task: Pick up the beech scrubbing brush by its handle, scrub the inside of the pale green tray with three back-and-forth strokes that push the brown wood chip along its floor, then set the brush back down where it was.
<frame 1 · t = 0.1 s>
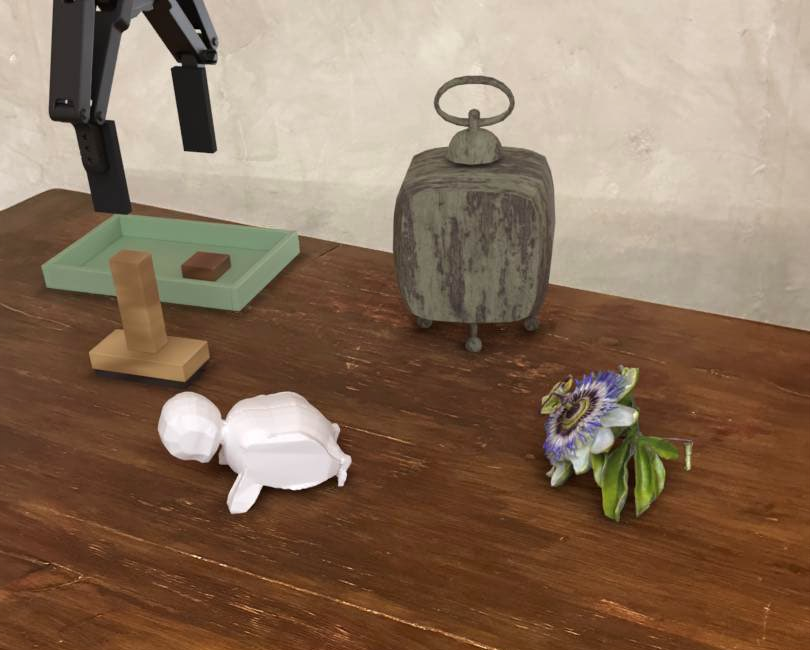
hand: (159, 180, 87), 22 cm above the table, tool pointing down, fingers open, 13 cm apart
wood chip: (207, 272, 125), point 1 cm above the table, touching tray
tray: (176, 275, 126), on the table
white turtle figurine: (261, 484, 93), on the table
tabletop clock: (475, 344, 110), on the table
passion flower: (606, 482, 91), on the table
brush: (153, 374, 108), on the table
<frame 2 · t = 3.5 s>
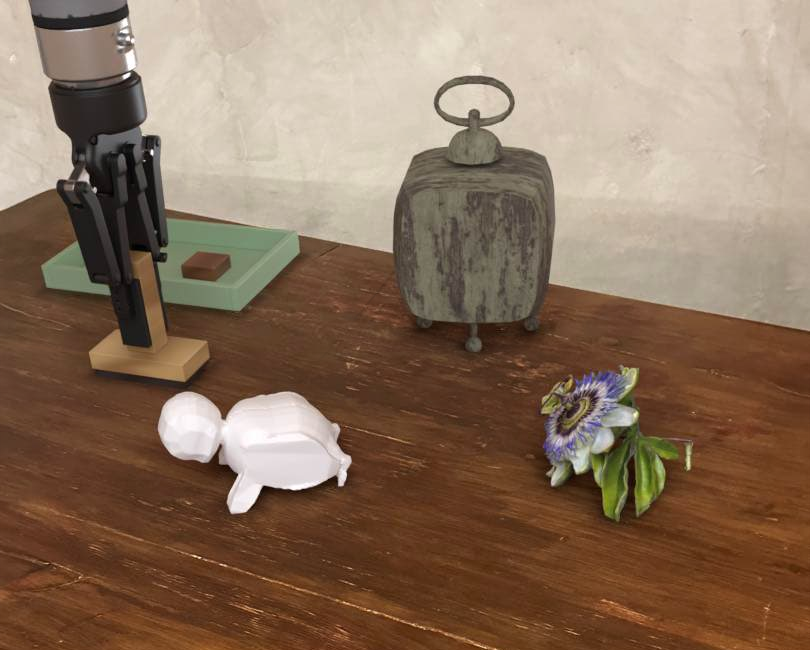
hand: (146, 336, 106), 4 cm above the table, tool pointing down, fingers closed on brush, 2 cm apart
brush: (153, 374, 108), on the table, touching gripper
everything else where it was.
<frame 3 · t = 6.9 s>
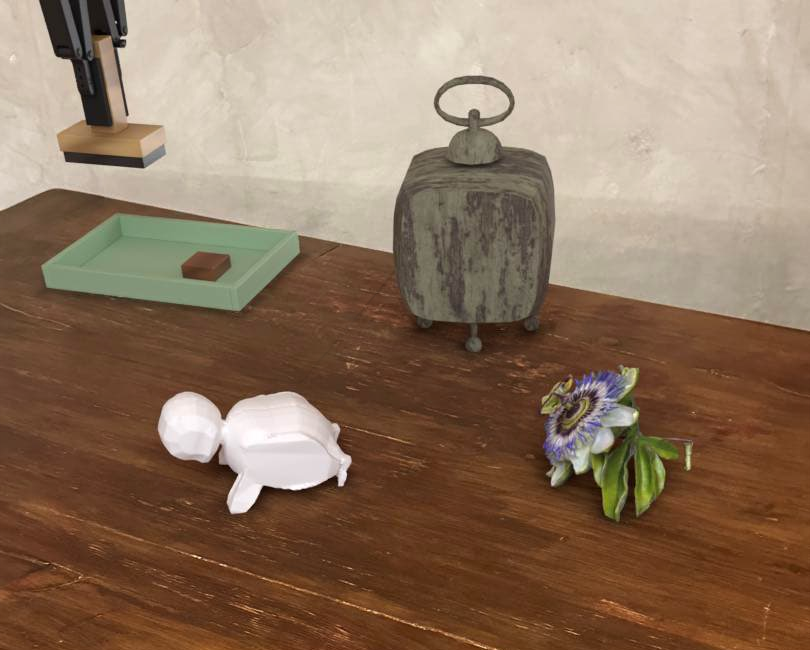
hand: (107, 119, 117), 17 cm above the table, tool pointing down, fingers closed on brush, 2 cm apart
brush: (115, 158, 119), point 13 cm above the table, touching gripper
everything else where it was.
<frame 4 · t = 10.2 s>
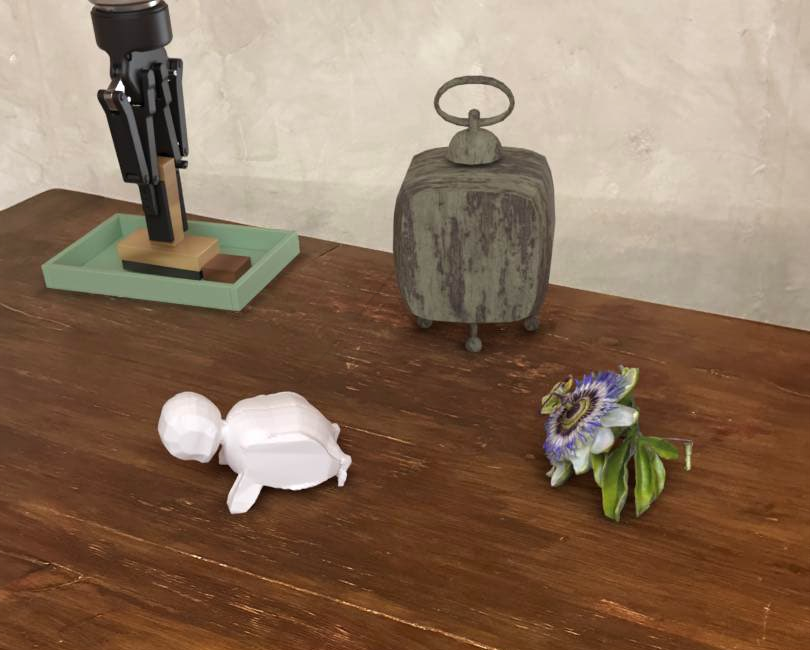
hand: (169, 234, 123), 5 cm above the table, tool pointing down, fingers closed on brush, 2 cm apart
wood chip: (228, 274, 124), point 1 cm above the table, touching tray
brush: (171, 266, 126), point 1 cm above the table, touching gripper, tray
everything else where it was.
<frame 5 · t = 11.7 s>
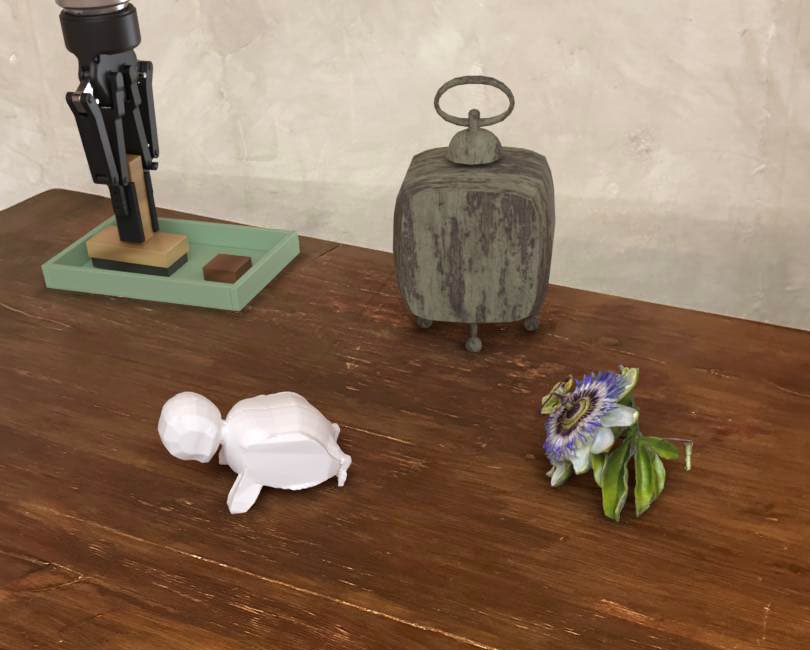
hand: (140, 234, 125), 4 cm above the table, tool pointing down, fingers closed on brush, 2 cm apart
brush: (140, 263, 127), point 1 cm above the table, touching gripper
everything else where it was.
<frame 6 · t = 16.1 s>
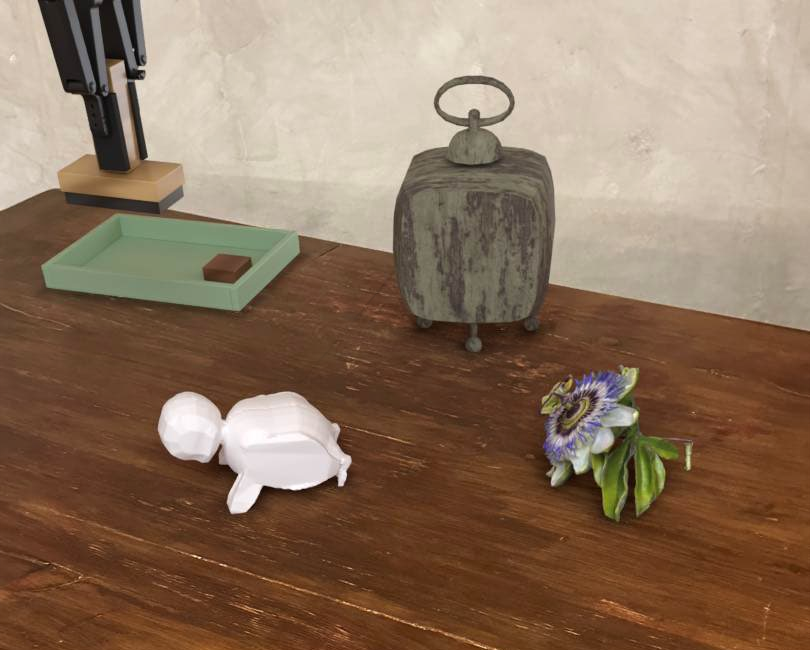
hand: (124, 162, 101), 19 cm above the table, tool pointing down, fingers closed on brush, 2 cm apart
brush: (125, 200, 103), point 15 cm above the table, touching gripper
everything else where it was.
when the fingers open (4 cm above the table, at t = 20.0 s): brush stays where it is, on the table.
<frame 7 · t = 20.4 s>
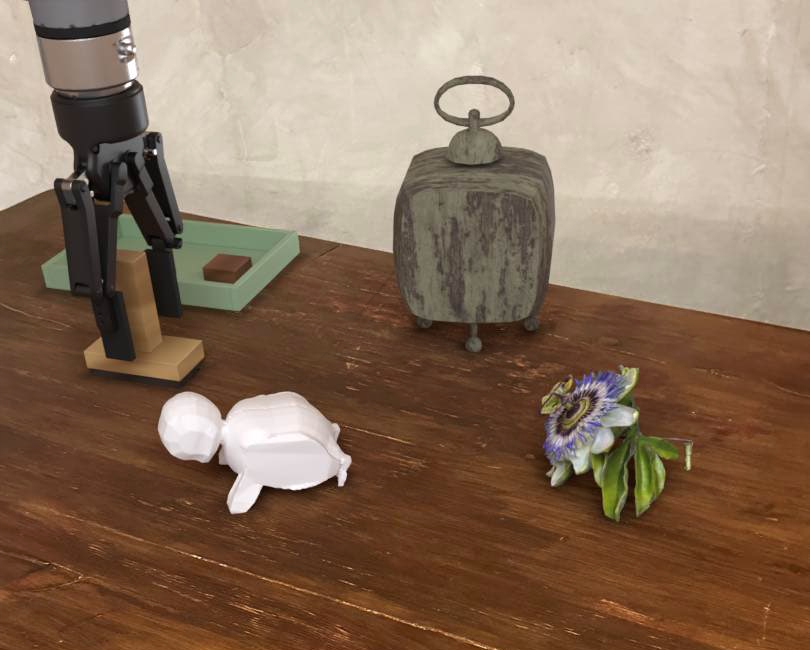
hand: (145, 335, 106), 4 cm above the table, tool pointing down, fingers open, 8 cm apart
brush: (148, 373, 108), on the table
everything else where it was.
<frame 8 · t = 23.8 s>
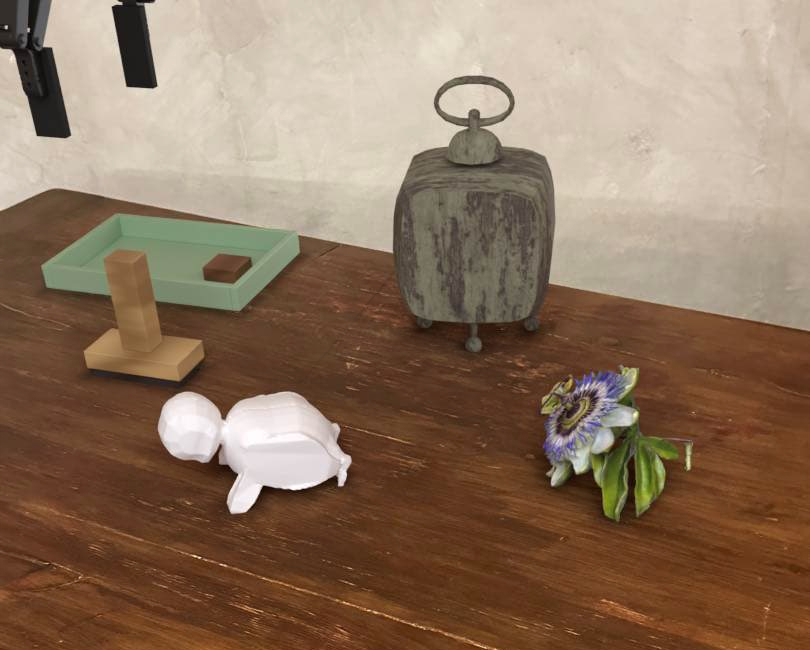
hand: (100, 110, 93), 25 cm above the table, tool pointing down, fingers open, 13 cm apart
nothing on the table moved.
at the end: wood chip moved 2.6 cm from its start; wood chip inside the target area in the tray (6.6 cm from its centre), point 0.8 cm above the tray's base; brush inside the target area (0.6 cm from its centre), on the table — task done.
